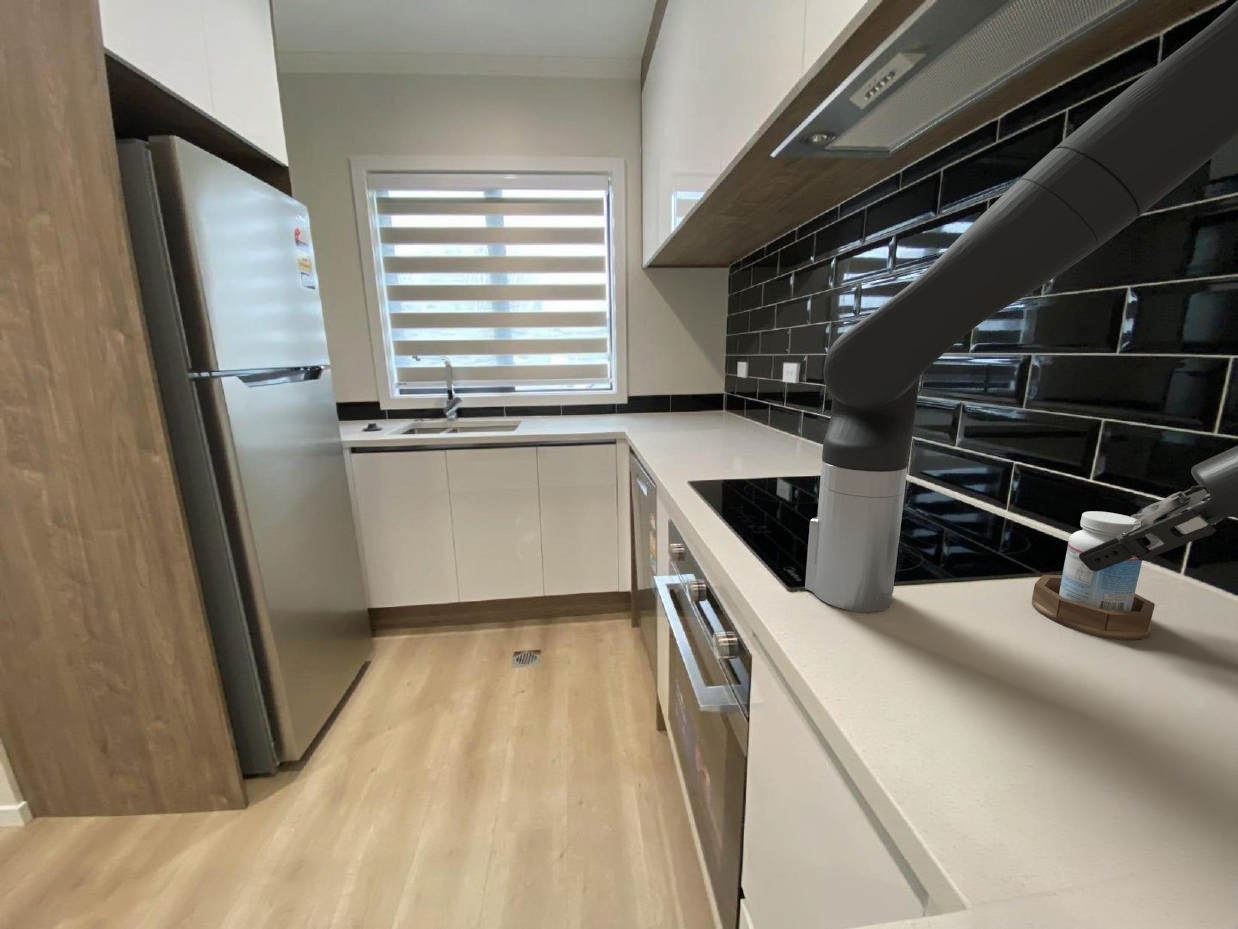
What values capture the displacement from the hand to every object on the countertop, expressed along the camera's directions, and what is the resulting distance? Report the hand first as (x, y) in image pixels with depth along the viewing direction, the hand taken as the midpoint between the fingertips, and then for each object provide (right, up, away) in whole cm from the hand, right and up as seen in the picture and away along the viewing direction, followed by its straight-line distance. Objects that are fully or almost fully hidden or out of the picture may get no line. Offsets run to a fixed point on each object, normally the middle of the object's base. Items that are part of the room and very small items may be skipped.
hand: (1092, 553), depth 56 cm
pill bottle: (+1, -7, +1) cm, 7 cm away
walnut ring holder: (0, -8, +1) cm, 8 cm away
